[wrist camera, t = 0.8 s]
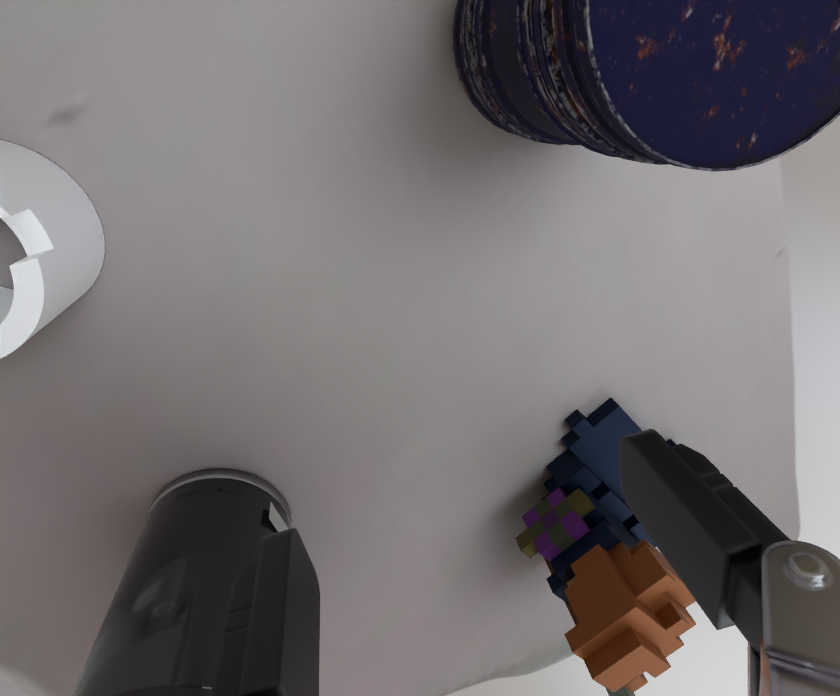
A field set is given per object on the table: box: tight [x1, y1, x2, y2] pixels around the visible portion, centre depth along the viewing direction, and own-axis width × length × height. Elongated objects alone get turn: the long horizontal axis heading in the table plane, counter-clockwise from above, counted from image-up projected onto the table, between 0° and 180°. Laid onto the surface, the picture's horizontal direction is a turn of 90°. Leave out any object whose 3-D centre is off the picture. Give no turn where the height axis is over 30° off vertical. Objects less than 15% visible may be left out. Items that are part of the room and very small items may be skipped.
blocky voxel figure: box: [515, 398, 696, 696], centre depth 35 cm, size 15×14×13 cm
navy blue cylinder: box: [453, 0, 840, 171], centre depth 20 cm, size 10×10×15 cm
